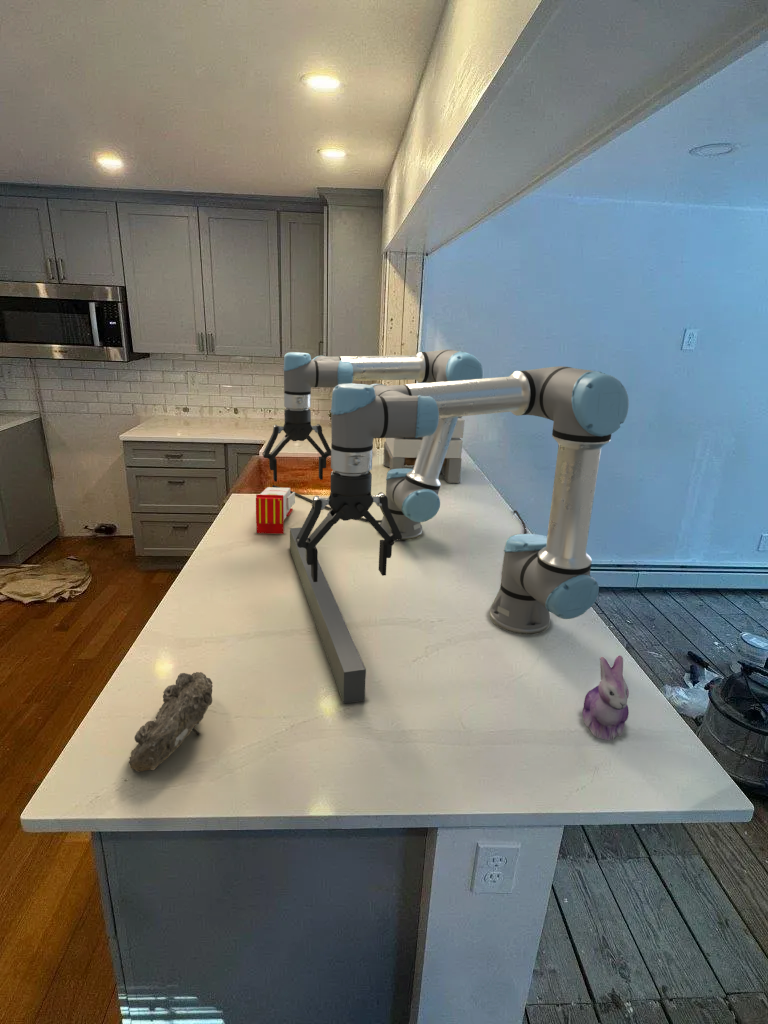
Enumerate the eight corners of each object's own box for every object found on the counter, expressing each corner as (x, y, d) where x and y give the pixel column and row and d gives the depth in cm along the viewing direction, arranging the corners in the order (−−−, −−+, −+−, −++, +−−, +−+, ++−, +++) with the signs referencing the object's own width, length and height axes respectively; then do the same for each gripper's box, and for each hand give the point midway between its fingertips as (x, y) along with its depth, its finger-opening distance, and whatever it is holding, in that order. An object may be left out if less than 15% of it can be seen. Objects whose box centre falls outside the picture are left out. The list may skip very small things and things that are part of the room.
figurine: (608, 750, 104) (623, 681, 99) (567, 715, 113) (579, 651, 107) (643, 734, 108) (659, 668, 103) (601, 702, 117) (614, 640, 112)
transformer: (382, 463, 289) (386, 382, 275) (445, 464, 293) (451, 384, 279) (390, 482, 257) (394, 392, 243) (460, 483, 261) (468, 394, 247)
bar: (289, 549, 183) (289, 528, 181) (303, 548, 184) (303, 527, 182) (343, 703, 113) (344, 672, 111) (364, 700, 114) (365, 669, 112)
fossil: (162, 673, 113) (214, 640, 108) (196, 704, 116) (248, 673, 111) (102, 765, 93) (163, 730, 88) (145, 799, 96) (206, 767, 91)
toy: (297, 482, 219) (286, 496, 190) (297, 516, 222) (286, 535, 193) (265, 481, 219) (249, 495, 189) (265, 515, 221) (250, 534, 192)
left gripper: (254, 411, 156) (256, 484, 163) (343, 410, 163) (341, 481, 170) (252, 406, 162) (254, 477, 170) (337, 406, 169) (336, 474, 177)
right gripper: (285, 479, 97) (287, 590, 104) (422, 473, 104) (415, 578, 111) (279, 467, 103) (282, 572, 110) (409, 463, 110) (403, 562, 118)
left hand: (298, 479), depth 170 cm, fingers open, 13 cm apart
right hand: (348, 575), depth 111 cm, fingers open, 13 cm apart
